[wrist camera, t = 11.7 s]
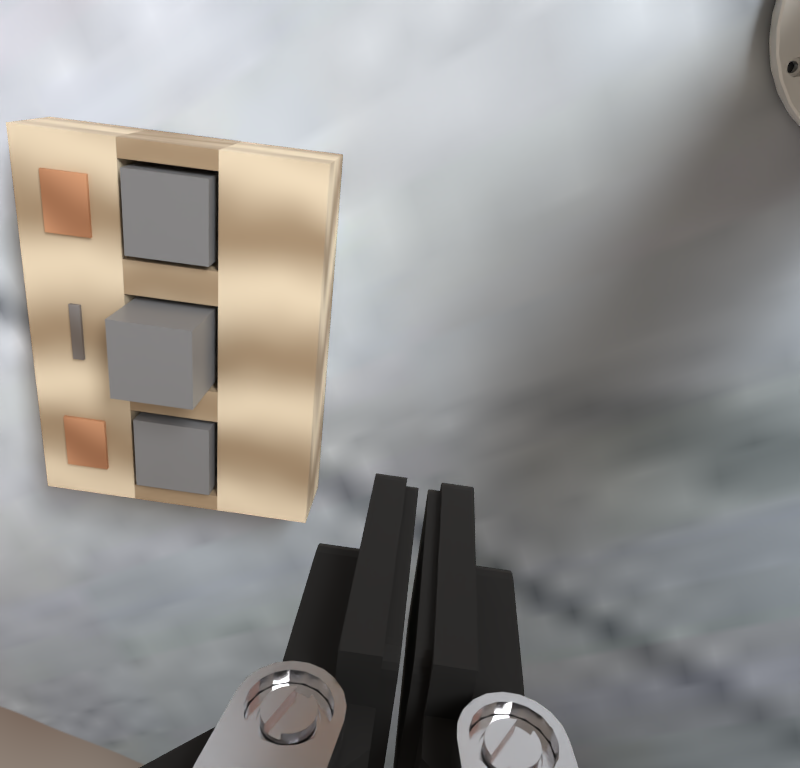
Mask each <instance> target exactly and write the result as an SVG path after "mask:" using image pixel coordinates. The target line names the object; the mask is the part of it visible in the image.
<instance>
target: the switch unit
mask: <svg viewBox="0 0 800 768" xmlns="http://www.w3.org/2000/svg"><path fill="white" fill-rule="evenodd" d="M6 126H7V134H8V143H9V152H10V160H11V169H12V178H13V186H14V195H15V204H16V212H17V221H18V230H19V238H20V247H21V256H22V264H23V273H24V282H25V290H26V299H27V308H28V316H29V325H30V334H31V342H32V351H33V359H34V368H35V377H36V385H37V394H38V403H39V411H40V420H41V429H42V437H43V446H44V455H45V463H46V472H47V481H48V486H52V487H59V488H66V489H73V490H80V491H87V492H94V493H101V494H108V495H115V496H122V497H129V498H136V499H143V500H150V501H157V502H164V503H171V504H178V505H184V506H191V507H198V508H205V509H212V510H219V511H226V512H233V513H240V514H247V515H254V516H261V517H268V518H275V519H282V520H289V521H296V522H303V523H306V520H307V517H308V514H309V511H310V508H311V505H312V503H313V500H314V497H315V494H316V491H317V488H318V478H319V465H320V452H321V439H322V425H323V412H324V399H325V386H326V372H327V359H328V346H329V333H330V319H331V306H332V293H333V280H334V266H335V253H336V240H337V227H338V213H339V200H340V187H341V174H342V160H343V155H342V154H334V153H327V152H319V151H311V150H303V149H295V148H288V147H280V146H272V145H264V144H257V143H249V142H241V141H233V140H226V139H218V138H210V137H202V136H194V135H187V134H179V133H171V132H163V131H156V130H148V129H140V128H132V127H125V126H117V125H109V124H101V123H93V122H86V121H78V120H70V119H62V118H55V117H45V118H37V119H29V120H21V121H13V122H6ZM139 161H144V162H152V163H160V164H168V165H175V166H183V167H191V168H198V169H206V170H214V171H219V212H218V260H217V261H215V262H214V263H213V264H212V265H210V266H209V267H206V266H199V265H191V264H184V263H176V262H169V261H161V260H154V259H146V258H139V257H131V256H124V237H123V218H122V199H121V180H120V167H123V166H126V165H129V164H133V163H136V162H139ZM137 296H144V297H151V298H159V299H166V300H173V301H181V302H188V303H196V304H203V305H210V306H218V362H217V380H216V381H215V382H214V384H213V385H212V386H211V388H210V389H209V390H208V391H207V393H206V394H205V395H204V396H203V398H202V399H201V400H200V402H199V403H198V404H197V405H196V407H195V408H194V409H193V410H190V409H182V408H175V407H168V406H161V405H154V404H147V403H139V402H132V401H125V400H118V399H111V398H110V387H109V373H108V358H107V343H106V328H105V319H106V318H108V317H109V316H110V315H112V314H113V313H115V312H116V311H117V310H119V309H120V308H122V307H123V306H124V305H126V304H127V303H129V302H130V301H131V300H133V299H134V298H136V297H137ZM140 412H148V413H155V414H162V415H169V416H176V417H184V418H191V419H198V420H205V421H212V422H218V447H217V483H216V484H215V486H214V488H213V489H212V491H211V493H210V494H209V495H204V494H197V493H190V492H183V491H176V490H169V489H162V488H155V487H148V486H141V485H137V483H136V464H135V445H134V426H133V420H134V419H135V417H136V416H137V415H138V414H139V413H140Z"/></svg>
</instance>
